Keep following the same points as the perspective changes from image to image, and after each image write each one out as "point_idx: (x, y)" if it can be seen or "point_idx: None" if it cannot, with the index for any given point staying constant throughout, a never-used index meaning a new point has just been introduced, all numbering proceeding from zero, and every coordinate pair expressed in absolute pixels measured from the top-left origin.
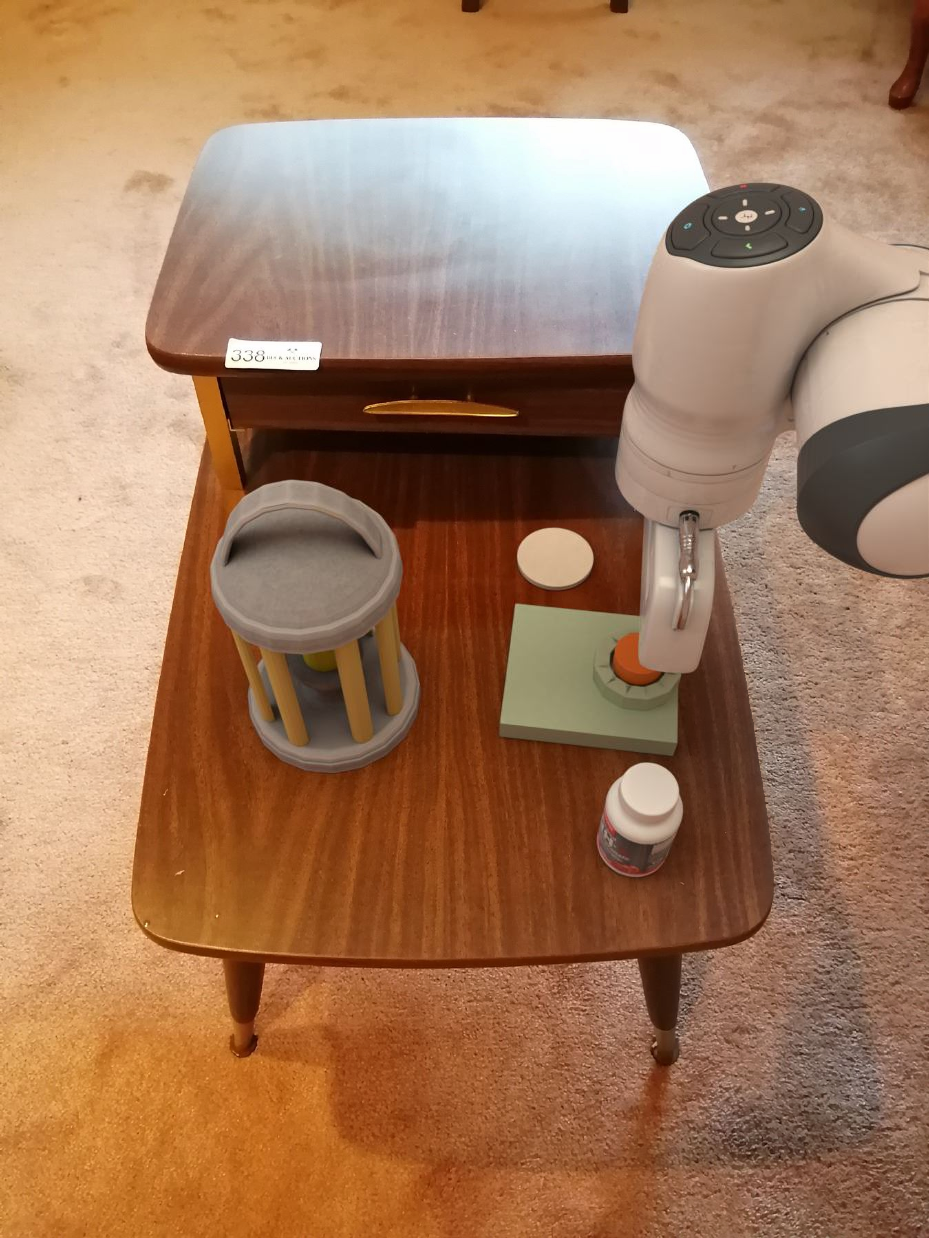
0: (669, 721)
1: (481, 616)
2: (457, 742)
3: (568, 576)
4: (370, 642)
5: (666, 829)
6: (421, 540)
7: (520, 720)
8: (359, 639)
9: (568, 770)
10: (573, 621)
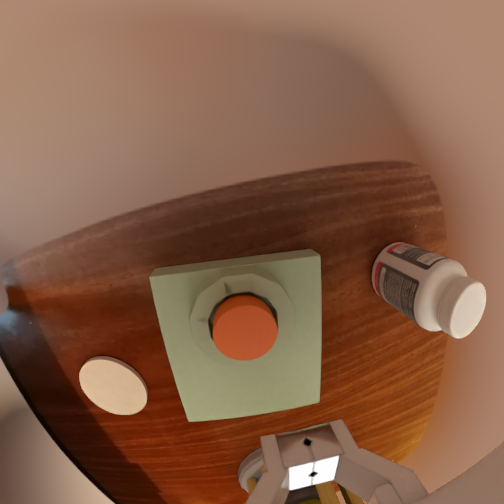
0: (296, 267)
1: (197, 425)
2: (320, 408)
3: (127, 378)
4: (260, 476)
5: (466, 274)
6: (145, 460)
7: (315, 391)
8: (292, 501)
9: (337, 334)
10: (190, 379)
